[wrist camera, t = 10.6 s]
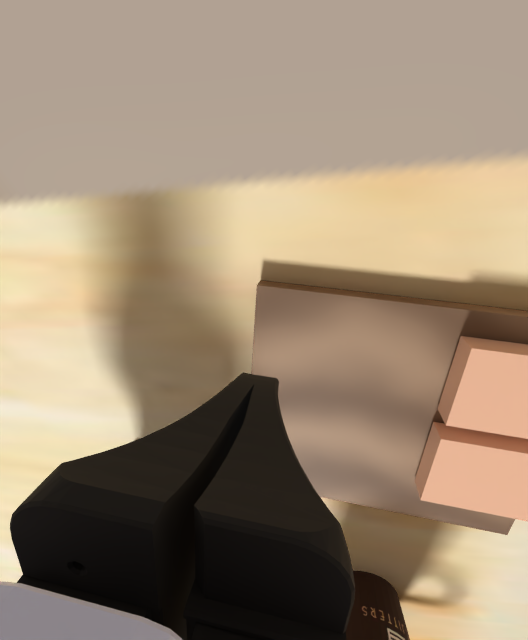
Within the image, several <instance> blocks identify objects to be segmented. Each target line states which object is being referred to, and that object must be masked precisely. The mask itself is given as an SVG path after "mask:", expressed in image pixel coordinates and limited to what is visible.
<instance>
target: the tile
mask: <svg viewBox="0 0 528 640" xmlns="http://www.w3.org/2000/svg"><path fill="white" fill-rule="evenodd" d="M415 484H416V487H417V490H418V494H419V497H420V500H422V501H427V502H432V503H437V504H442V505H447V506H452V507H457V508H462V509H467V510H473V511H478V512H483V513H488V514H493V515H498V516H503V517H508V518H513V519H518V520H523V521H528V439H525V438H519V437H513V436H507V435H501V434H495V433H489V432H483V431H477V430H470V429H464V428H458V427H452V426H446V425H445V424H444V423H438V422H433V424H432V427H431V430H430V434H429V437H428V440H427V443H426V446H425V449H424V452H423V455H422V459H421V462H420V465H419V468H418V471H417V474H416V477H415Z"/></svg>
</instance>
